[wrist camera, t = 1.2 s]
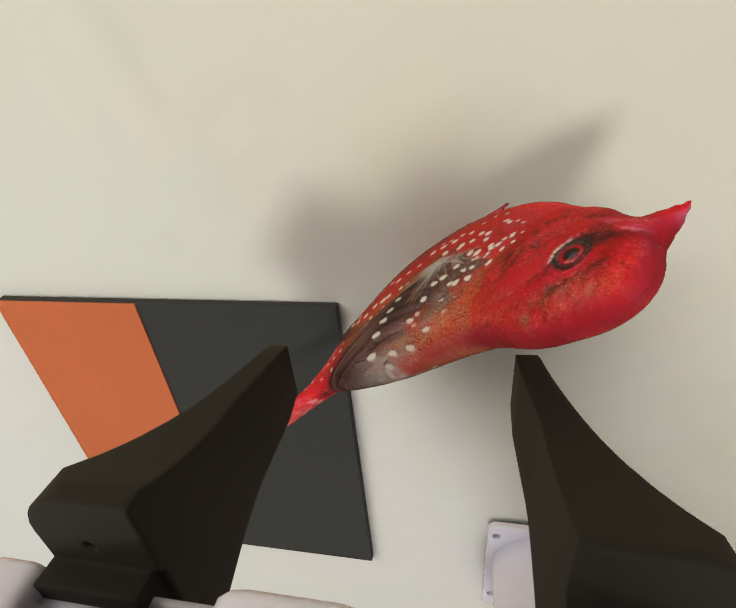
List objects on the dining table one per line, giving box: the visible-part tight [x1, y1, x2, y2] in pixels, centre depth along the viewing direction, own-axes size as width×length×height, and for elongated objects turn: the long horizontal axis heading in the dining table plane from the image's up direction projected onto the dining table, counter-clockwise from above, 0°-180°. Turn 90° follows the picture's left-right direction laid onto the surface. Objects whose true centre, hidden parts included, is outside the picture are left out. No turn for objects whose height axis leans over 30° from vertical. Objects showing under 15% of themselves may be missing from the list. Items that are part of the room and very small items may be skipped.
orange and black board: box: [0, 296, 373, 561], centre depth 30 cm, size 20×22×1 cm
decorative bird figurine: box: [287, 201, 691, 426], centre depth 17 cm, size 3×18×10 cm, turn 135°
